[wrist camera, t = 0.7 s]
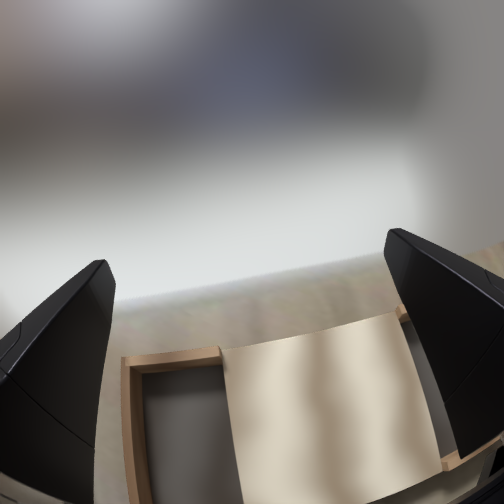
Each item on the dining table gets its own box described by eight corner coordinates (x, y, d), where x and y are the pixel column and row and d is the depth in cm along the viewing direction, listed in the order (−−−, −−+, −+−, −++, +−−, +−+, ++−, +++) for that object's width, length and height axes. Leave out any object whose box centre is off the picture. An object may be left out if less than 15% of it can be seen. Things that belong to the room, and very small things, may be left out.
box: (456, 298, 23) (469, 281, 21) (501, 427, 14) (521, 421, 12) (137, 367, 23) (121, 357, 21) (151, 520, 14) (133, 526, 12)
